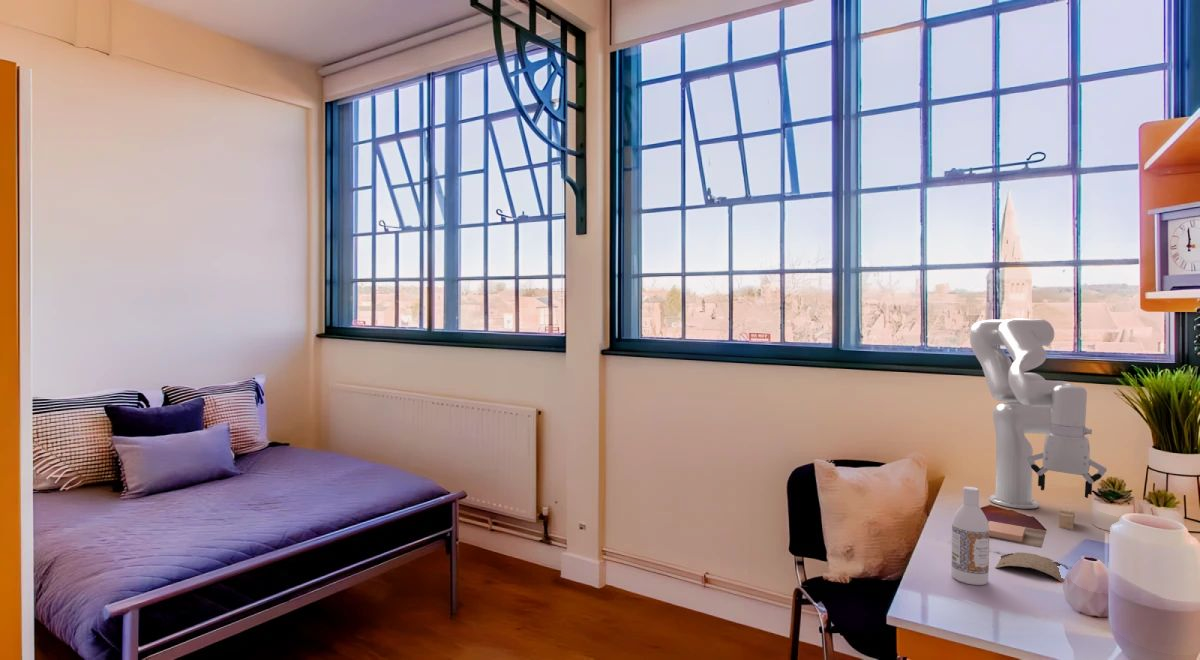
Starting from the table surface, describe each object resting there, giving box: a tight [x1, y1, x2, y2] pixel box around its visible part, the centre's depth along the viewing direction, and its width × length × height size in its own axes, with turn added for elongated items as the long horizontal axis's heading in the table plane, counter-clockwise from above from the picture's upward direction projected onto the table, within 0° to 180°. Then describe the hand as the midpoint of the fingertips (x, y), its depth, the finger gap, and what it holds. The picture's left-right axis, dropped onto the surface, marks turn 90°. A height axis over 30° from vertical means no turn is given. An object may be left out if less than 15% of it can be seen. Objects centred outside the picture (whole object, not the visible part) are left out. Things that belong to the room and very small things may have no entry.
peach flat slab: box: [988, 520, 1026, 542], centre depth 161 cm, size 2×8×9 cm
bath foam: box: [951, 486, 990, 586], centre depth 136 cm, size 7×7×20 cm
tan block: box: [1058, 508, 1075, 531], centre depth 167 cm, size 12×5×5 cm, turn 141°
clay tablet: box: [994, 551, 1065, 583], centre depth 142 cm, size 14×10×3 cm
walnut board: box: [987, 520, 1047, 549], centre depth 162 cm, size 16×14×2 cm
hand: (1064, 492), depth 169 cm, fingers open, 9 cm apart
